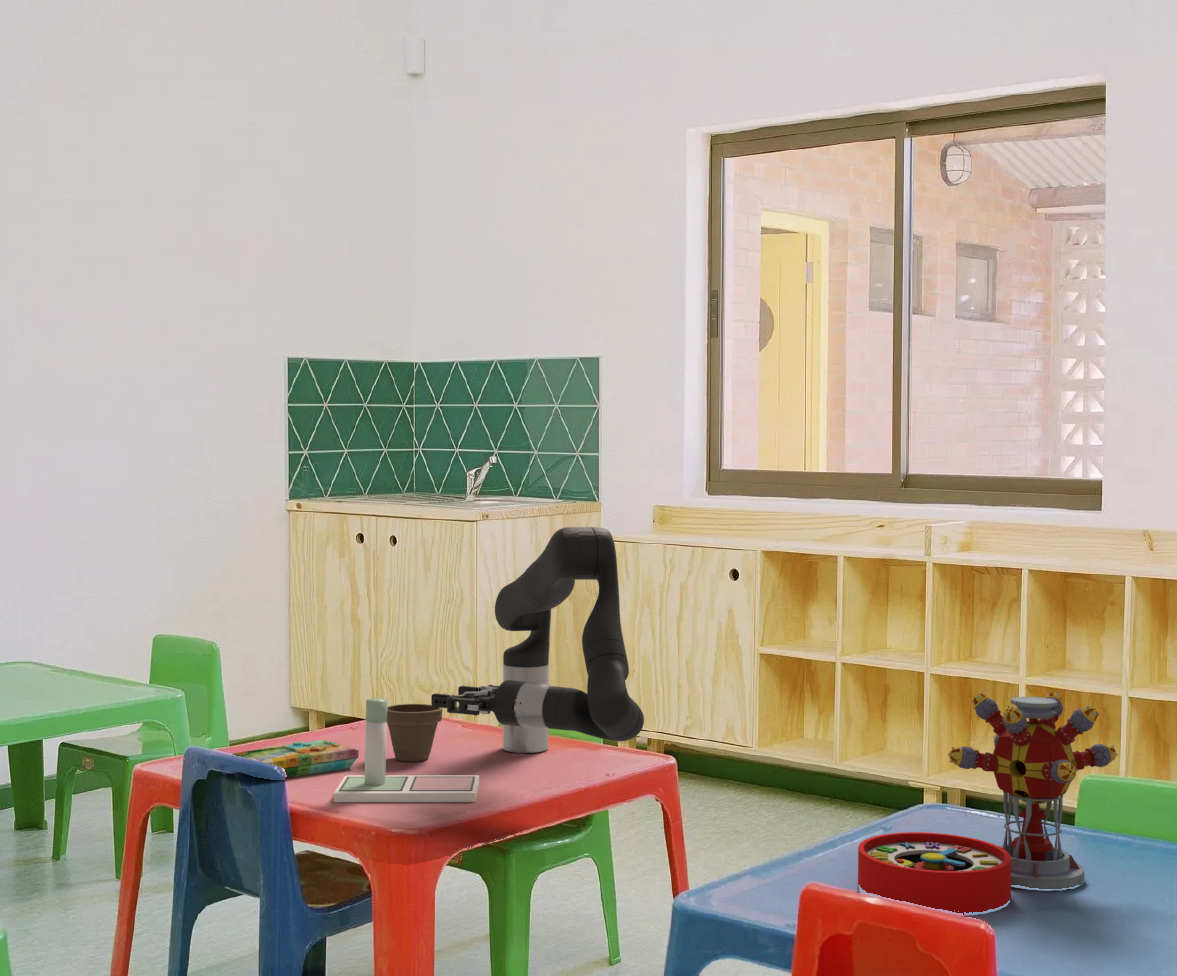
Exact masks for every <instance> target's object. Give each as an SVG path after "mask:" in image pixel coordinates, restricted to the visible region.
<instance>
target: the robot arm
mask: <svg viewBox="0 0 1177 976" xmlns="http://www.w3.org/2000/svg"><path fill="white" fill-rule="evenodd" d="M550 537H551V538H550V539H549V540H548V543H547V545H546V546H545V547H544V550H543V551H542V553H541V554H540V555H539V556H538V557H537V559H536V560H534V561H533V562H532V563H531V564H530V565H529V566H528V567H527V568H526V569H525V570H524V571H523V573H522V574H521V575H519V577H517V578H516V579H515V580H514V581H512V582H510V583H508V584H507V585H505V586H503V587H502V588H500V590H499V592H498V594H497V596H496V599H495V603H494V615H495V620H496V621H497V623H498V625H499V626H500V627H501V628H502V629H503V630H505V631H510V632H527V631H529V632H530V634H529V635H528V637H527V638H526V639H524V641H523V640H522V642H519V643H517V644H516V645H514V646H512V647H508V648H507V649H505V650H504V651H503V659H502V665H503V666H502V667H503V669H502V682H501V683H500V684H499V685H493V684H489V685H488V684H487V685H485V686H484V685H481V686H469V685H460V686H458V688H457V691H458V692H457V694H448V693H447V694H444V693H439V692H438V693H433V694H431V701H430V702H431V704H430V705H432V706H433V707H440V708H442V709H446V713H449V714H459V715H468V716H469V715H470V716H476V717H477V716H480V714H481V715H490V714H491V712H492V713H493V714H494V716H495V719H496V721H497V722H498V724H501V725H502V750H504V751H506V752H509V753H510V752H511V753H517V754H519V753H520V754H521V753H522V754H525V753H527V754H530V753H531V754H533V753H541V752H544V751H548V750H549V730H559V731H567V732H568V731H572V732H578V733H582V734H584V735H588V736H591V737H595V738H598V739H603V740H606V741H611V742H626V741H629V740H632V739H635V737H637V736H638V735H639V734H640V733H641V732H642V730H643V727H644V725H645V716H644V713H643V711H642V708H641V706H639V705H638V704H637V703H636V702H635V700H634V699H632V697H631V696H630V695H629V693H628V690H627V685H626V680H627V679H628V677H629V674H630V667H629V666H630V665H629V662H628V656H627V651H626V647H625V642H624V637H623V632H622V624H621V614H620V613H621V610H620V609H621V608H620V589H619V585H620V584H619V576H618V562H617V561H618V560H617V559H618V558H617V551H616V544H615V540H614V538H613V535H612V533H611V531H609V530H608V529H607V528H604V527H598V526H596V527H595V526H593V527H592V526H590V527H589V526H587V527H586V526H585V527H584V526H583V527H582V526H580V527H579V526H577V527H576V526H567V527H562V528H559V529H557V530H556V531H555V532H554V533H553V535H552V536H550ZM576 580H578V581H579V580H592V581H593V580H596V581H597V584H598V594H597V599H596V601H595V604H594V605H593V609H592V610H591V612H590V614H589V616H588V618H587V620H586V622H585V624H584V627H583V630H582V636H581V645H582V653H583V657H584V663H585V668H586V674H587V685H586V688H587V689H586V690H587V691H586V692H585V691H583V690H580V689H579V688H578V689H577V688H573V687H565V686H556V685H555V686H554V685H550V679H549V678H550V677H549V669H550V668H549V666H550V665H549V659H550V657H549V656H550V645H551V644H550V643H551V642H550V639H551V637H550V636H551V635H550V634H551V633H550V632H551V621H552V618H551V617H552V609H554V608H556V607H558V606H559V605H561V604H562V603H563V602H564V601H566V599H567V598H569V596H570V595H571V593H572V592H573V590H574V587H575V585H576V584H575V583H576ZM457 704H458V705H457Z"/></svg>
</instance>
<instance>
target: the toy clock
mask: <svg viewBox="0 0 1177 976" xmlns="http://www.w3.org/2000/svg"><path fill="white" fill-rule="evenodd" d="M999 846H1000V845H996V844H994V843H991V842H988V841H985V840H982V839H978V838H974V837H970V836H969V837H968V836H963V835H957V834H951V833H949V834H948V833H939V832H921V831H916V832H913V831H912V832H910V831H909V832H906V831H905V832H894V833H893V832H892V833H885V834H884V833H883V834H879V835H874V836H871V837H868V838H865V839H864V840H863V841H860V843H859V845H858V847H857V885H858V884H859V885H860V887H861V888H862V889H863V890H865V891H866V892H867V893H873V894H877V895H880V896H882V897H886V898H891V899H894V900H899V901H906V902H910V903H914V904H918V905H922V906H926V907H931V908H935V909H943V910H948V911H952V912H956V913H963V915H964V912H966V913H969V912H972V913H973V912H983V911H987V910H989V909H995V908H998V907H1000V906H1003V905H1004V904H1006V903H1007V902H1008V901H1009V900H1010V899H1011V900H1012V898H1011V897H1012V893H1011V892H1012V888H1011V856H1010V854H1009V853H1008V852H1007V851H1006V850H1005V849H1003V848H1001V847H999ZM954 910H955V911H954ZM958 911H959V912H958Z"/></svg>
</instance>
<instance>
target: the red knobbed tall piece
mask: <svg viewBox="0 0 1177 976" xmlns="http://www.w3.org/2000/svg"><path fill="white" fill-rule="evenodd" d="M970 703H972V705H973V708H974V710H975V714H976V715H977V717H978V718H980V719H982V720H985V721H984V722H985V723H986V724H988V723H989V725H990V726H991V727H992V728H993V730H992V731H993V733H994V734H995V735H992V738H993V743H994V750H993V751H992V753H991V752H984V753H982V752H980V751H979V750H978V749H974V748H973V747H970V746H963V745H962V746H961V747H960V746H957V747H953V746H951V749H950V751H949V753H948V754H947V755H948V758H949V763H952V764H954V765H955V766H957V767H959V769H960V768H961V769H965V770H969V769H973V770H976V769H977V768H978V769H981V770H982V771H984V772H990V773H991V772H993V775H994V778H995V781H996V784H997V787H998V788H999V790H1001V791H1002V793H1003V800H1002V801H1003V802H1002V803H1003V812H1004V818H1005V823H1004V824H1003V828H1004V829H1005V833H1004V839H1003V844H1002V845H998V846H999V847H1001V848H1003V849H1005V850H1006V851H1007V852H1008V853H1009V854H1010V856H1011V885H1020V886H1025V887H1029V888H1039V889H1062V888H1069V887H1074V886H1076V885H1081V884H1082V882H1083V881H1084V882H1085V869H1084V866H1082V865H1080V864H1079V863H1077V862H1076V860H1075V859H1074V858H1073V855H1072V854H1069V853H1068V852H1067V851H1065V850H1064V849H1062V843H1061V837H1060V834H1061V833H1062V828H1061V822H1062V817H1063V811H1064V810H1063V809H1064V808H1063V806H1064V805H1063V803H1064V801H1063V798H1064V795H1065V794H1066V793H1067V791H1068V790H1069V788H1070V785H1071V783H1072V782H1073V781H1074V779H1075V778H1076V776H1077V772H1078V771H1081V770H1084V769H1085V768H1086V767H1091V768H1094V767H1097V768H1104V767H1107V766H1108V765H1109V764H1110V763H1113V761H1114V760H1116V757H1117V756H1119V754H1118V753H1117V751H1116V749H1115V746H1114V745H1113V744H1111V745H1107V744H1103V743H1102V744H1101V743H1096V744H1093V745H1091V746H1090V747H1088V748H1085V750H1084V751H1079V750H1075V751H1073V748H1072V746H1071V745H1072V743H1074V742H1075V741H1076V737H1077V736H1079V735H1083V734H1084V733H1085V732H1088V731H1090V730H1092V728H1093V727H1094V725H1095V723H1096V721H1097V719H1098V717H1099V716H1100V714H1101V713H1100V712H1098V710H1097V709H1096V707H1094V705H1093V704H1091V705H1089V704H1087V705H1085V706H1081V707H1080V708H1077V709H1075V710H1073V711H1072V714H1071V716H1070V718H1067V723H1066V724H1064V725H1061V726H1059V727H1058V728H1057V729H1056V723H1057V722H1058V720H1059V718H1060V717H1061V716H1062V713H1063V711H1064V706H1063V699H1062V698H1061V697H1060V695H1059V692H1055V693H1054V692H1049V691H1048V692H1047V695H1046V696H1045V697H1040V696H1015V697H1011V698H1010V704H1011V705H1013V706H1016V707H1013V706H1010V705H1009V704H1008V705H1007V708H1006V709H1005V711H1004V713H1003V715H1002V714H1001V713H1002V710H1000V709H999V705H998V704H997V702H996V701H995V700H994V699H992V698H990V697H989V696H986V695H985V694H984V692H981V693H979V694H976V695H975V696H974V697H973V699H971V700H970ZM1027 719H1028V720H1027ZM1020 800H1021V801H1022V802H1024V803H1025V808H1022V809H1021V810H1020V812H1019V809H1020V808H1019V806H1020V805H1019V804H1020ZM1052 802H1053V803H1052ZM1043 804H1046V807H1045V811H1044V810H1043V809H1041V807H1040V805H1043ZM1052 806H1053V810H1052V812H1053V820H1054V824H1052V823H1049V822H1047V820H1048V818H1049V814H1050V811H1051V809H1052ZM1012 809H1013V810H1012ZM1012 813H1013V815H1014V820H1013V821H1011V815H1012ZM1020 818H1022V819H1023V820H1020ZM1042 820H1043V821H1042ZM1021 823H1022V827H1021ZM1012 824H1016V826H1017V828H1018V831H1017V830H1013V829H1010V828H1011V827H1010V825H1012ZM1046 826H1050V827H1053V828H1055V832H1053V833H1052V832H1051V833H1048V830H1047V828H1046ZM1012 833H1014V834H1018V836H1016V837H1015V838H1013V840H1012ZM1052 836H1056V837H1055V841H1054V846H1053V844H1052V842H1051V840H1050V837H1052ZM1082 885H1083V884H1082Z"/></svg>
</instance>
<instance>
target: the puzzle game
mask: <svg viewBox="0 0 1177 976" xmlns="http://www.w3.org/2000/svg"><path fill="white" fill-rule="evenodd" d="M233 755H236V756H241V757H245V758H249V759H256V760H259V761H261V762H266V763H270V764H274V765H277V766H279V767H282V768H284V769H285V772H286V775H287V778H294V777H300V776H307V775H313V774H319V773H327V772H333V771H339V770H346V769H350V768H351V767H352V766H353V764H354V763H355V762H356V760H357V759H358V758H359V750H358V749H356V748H352V747H349V746H346V745H343V744H339V743H336V742H334V741H331V740H328V739H327V740H326V739H321V740H320V739H319V740H313V741H307V742H305V741H304V742H301V741H294V742H292V744H286V745H280V746H279V745H278V746H272V747H267V748H266V747H264V748H259V749H252V750H246V751H244V750H243V751H240V752H239V751H238V752H233V753H232V756H233ZM287 778H286V779H287Z"/></svg>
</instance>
